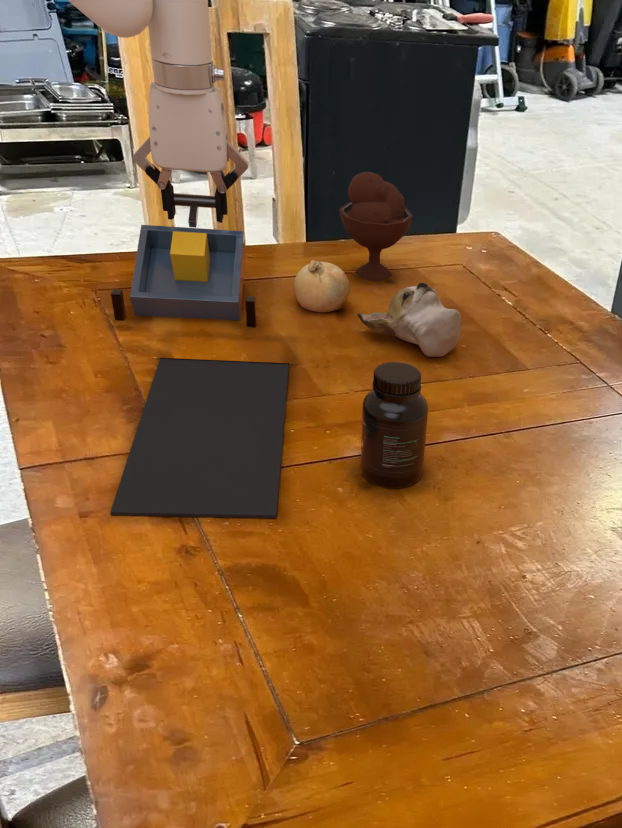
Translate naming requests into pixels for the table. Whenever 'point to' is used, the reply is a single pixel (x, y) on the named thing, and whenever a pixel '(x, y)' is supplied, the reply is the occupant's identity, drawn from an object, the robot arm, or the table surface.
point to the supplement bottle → (394, 427)
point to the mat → (207, 441)
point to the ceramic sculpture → (418, 320)
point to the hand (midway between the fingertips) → (196, 216)
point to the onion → (321, 287)
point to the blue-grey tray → (189, 298)
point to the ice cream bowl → (375, 220)
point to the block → (190, 256)
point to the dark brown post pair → (121, 314)
